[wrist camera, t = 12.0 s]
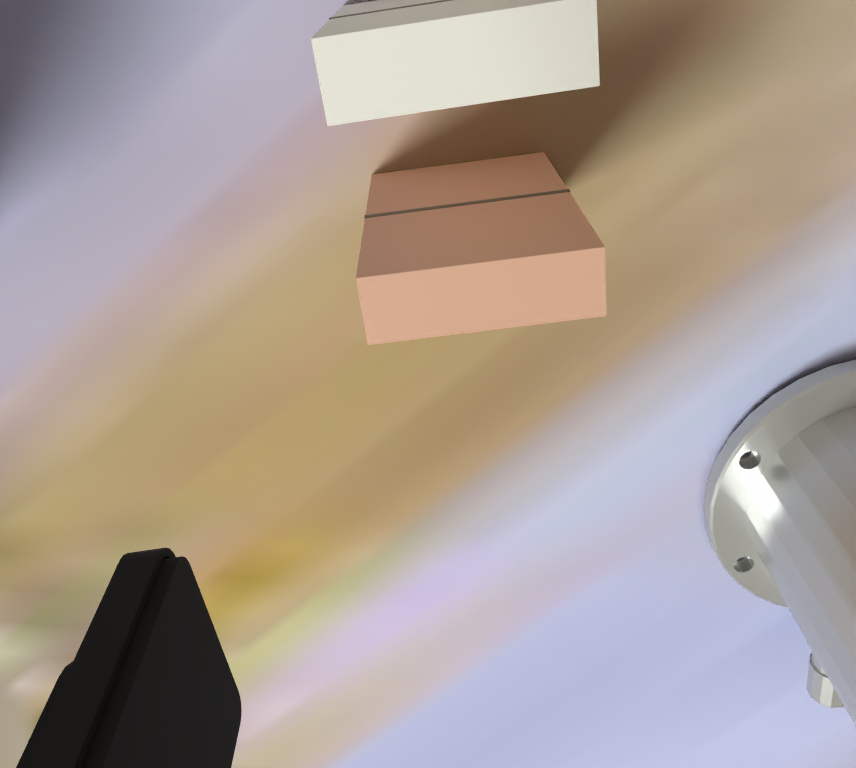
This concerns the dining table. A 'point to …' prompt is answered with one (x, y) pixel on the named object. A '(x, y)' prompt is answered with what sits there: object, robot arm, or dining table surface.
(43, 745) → the robot arm
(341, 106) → the domino
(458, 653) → the dining table surface
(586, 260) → the domino
